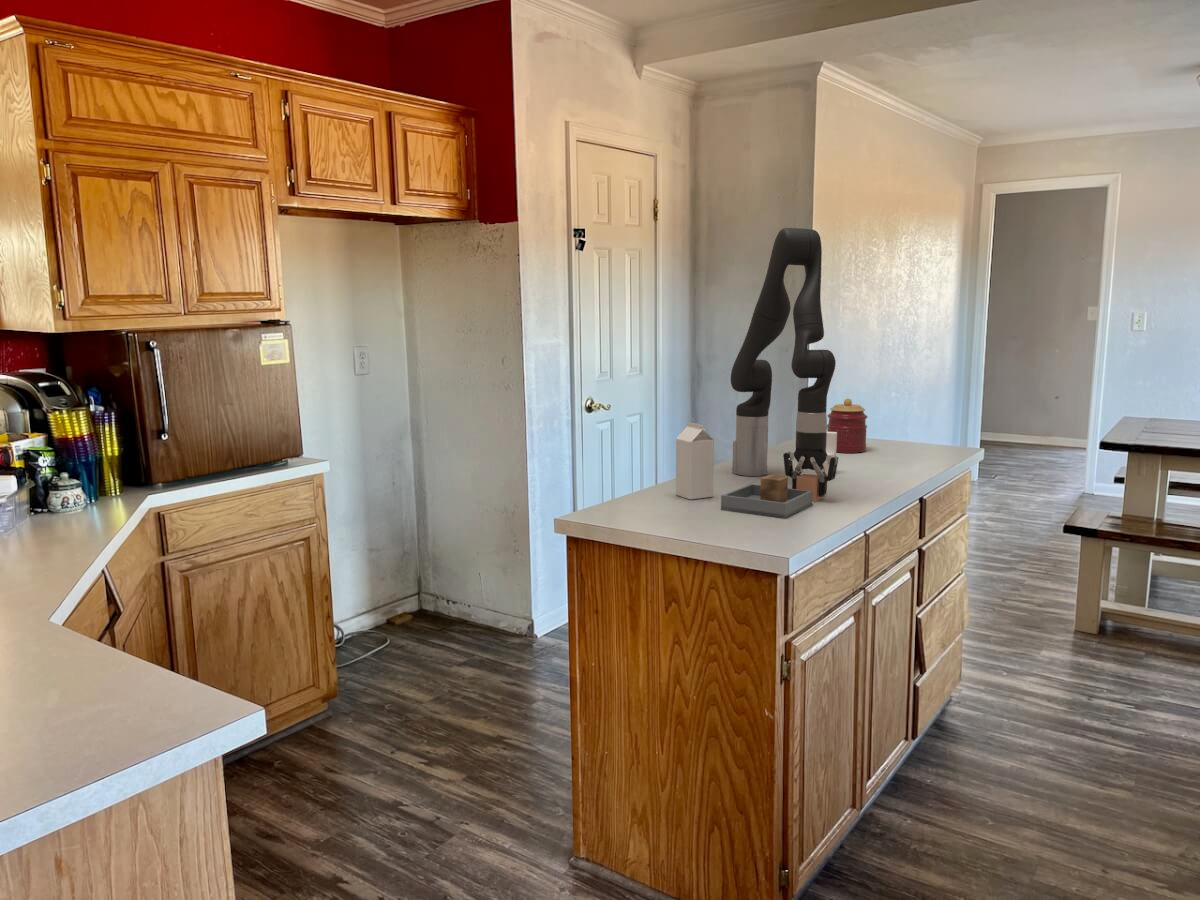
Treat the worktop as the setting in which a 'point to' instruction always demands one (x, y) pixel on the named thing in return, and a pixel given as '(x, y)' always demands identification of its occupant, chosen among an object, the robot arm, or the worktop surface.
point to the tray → (765, 502)
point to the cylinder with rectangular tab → (827, 451)
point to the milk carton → (694, 463)
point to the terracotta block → (809, 485)
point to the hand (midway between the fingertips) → (809, 494)
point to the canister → (848, 427)
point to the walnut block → (774, 488)
